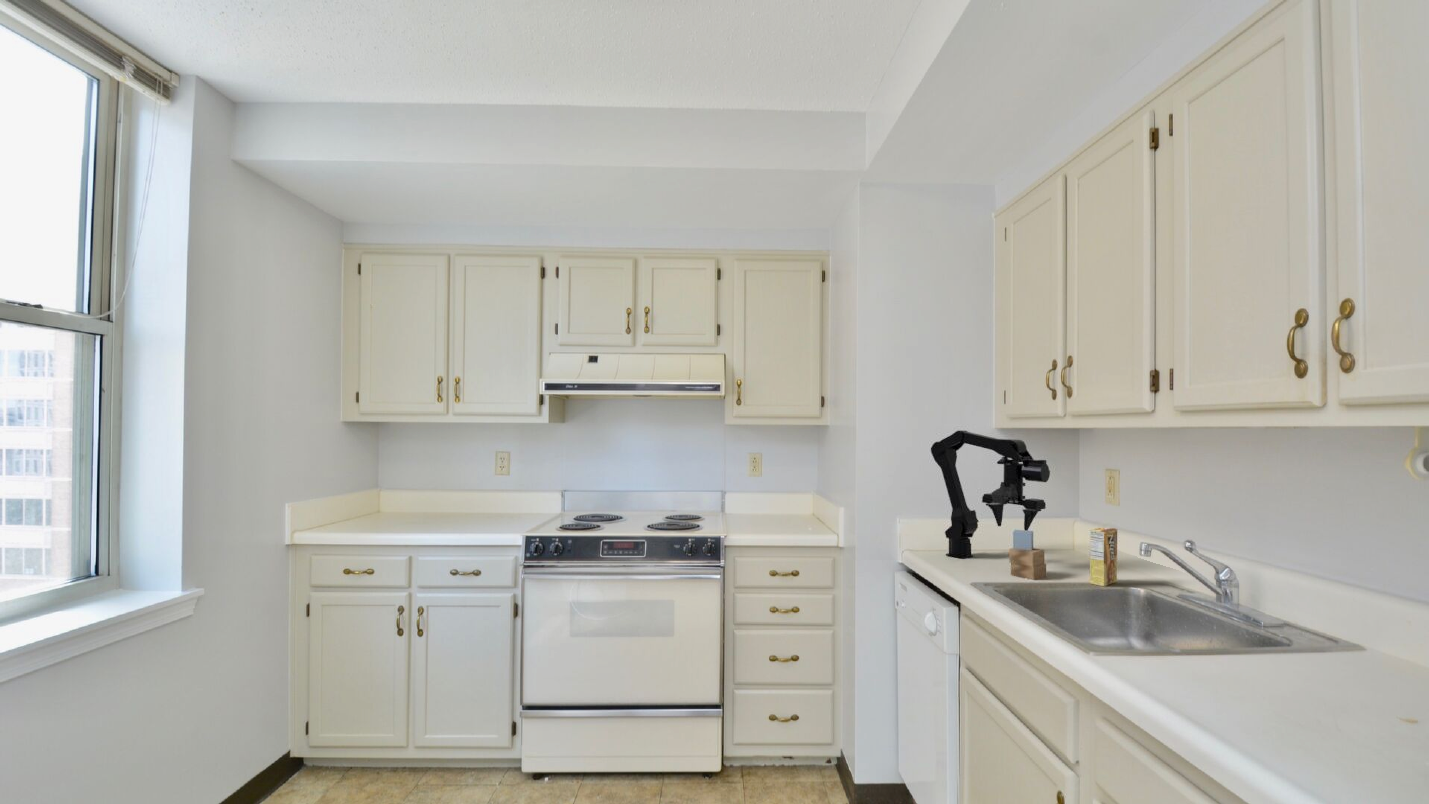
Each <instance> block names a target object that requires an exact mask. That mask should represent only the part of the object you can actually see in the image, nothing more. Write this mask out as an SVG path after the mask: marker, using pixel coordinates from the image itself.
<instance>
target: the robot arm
mask: <svg viewBox="0 0 1429 804" xmlns="http://www.w3.org/2000/svg"><path fill="white" fill-rule="evenodd" d="M965 444H966V445H970V446H971V445H972V446H975V447H980V448H983V449H987V450H991V451H994V452H995V453H996V454H998V455H999V456H1002V457H1001V458H1000V459H999V460H997V462H996V463H997V464H998V465H1003V480H1002V481H1001V482H1000V484H999V485H1000V487H999V488H996V489H995V490H994V491H992V492H991V493H984V494H983V495H982V497H981V503H984V504H985V506H987V507H989V509H991V511H992V513H993V516H994V518H995V522H996V524H997V527H1001V526H1002V522H1003V517H1004V516H1003V512H1004V505H1008V504H1010V505H1015V506H1016V505H1018V506H1023V509H1022V512H1023V515H1024V518H1023V519H1024V520H1023V521H1024V522H1023V529H1024V530H1026V531H1029V529H1030V527H1031V524H1032V523H1033V521H1034V519H1035V518H1036V516H1037V514H1038V513H1039V512H1042V510H1046V502H1045V500H1044V499H1040V498H1033V497H1032V498H1026V495H1024V487H1026V482H1024V480H1025V481H1027V482H1028V481H1030V482H1038V483H1047V482H1048V481H1049V479H1050V476H1051V475H1050V474H1051V470H1050V469H1049V465H1048V464H1047V460H1046V459H1038V460H1037V459H1034V457H1033V456H1032V455H1031V453H1030V452H1029V450H1028V449H1027V445H1026V443H1025V441H1023V440H1021V439H1004V438H996V437H993V436H988V435H983V434H979V433H975V432H970V431H968V430H956V431H955V432H953V433H952V434H951V435H948V436H946V437H944V438H943V439H941V440H940V441H935V442H934V443H933V444H932V445H931V447H930V452H931V456H932V458H933V460H934V461H935V463H936V464H937V465H938V467H940V470H941V473H942V476H943V480H944V484H945V488H946V491H947V494H948V498H949V502H950V505H951V516H950V521H951V522H950V523H951V526H948V528H947V529H946V530H945V531H944V535H945V538H947V539H948V552H947V553H945V556H949V557H953V558H957V559H966V558H971V557H973V556H974V554H972V542H971V538H973V536H974V534H975V532H976V531H977V529H978V528H979V524H978V523H980V521H979V519H978V518H977V512H976V510H975V509H973V510H971V509H970V508H969V507H968V505H967V502H966V501H967V500H966V497H965V495H964V491H963V486H962V484H961V481H960V476H959V473H958V469H957V467H956V466H957V465H956V464H957V459H958V455H957V453H958V452H957V451H959V450H960V449H961V448H963V446H964V445H965Z"/></svg>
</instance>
